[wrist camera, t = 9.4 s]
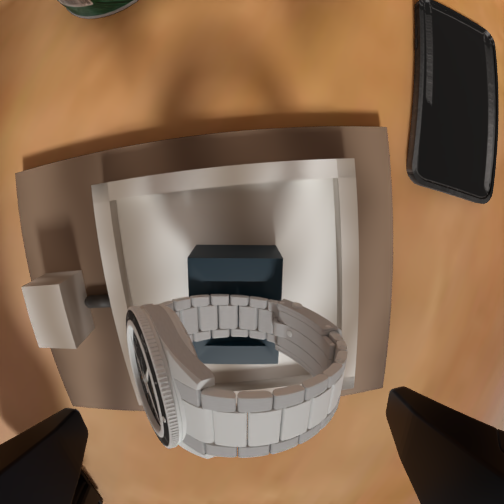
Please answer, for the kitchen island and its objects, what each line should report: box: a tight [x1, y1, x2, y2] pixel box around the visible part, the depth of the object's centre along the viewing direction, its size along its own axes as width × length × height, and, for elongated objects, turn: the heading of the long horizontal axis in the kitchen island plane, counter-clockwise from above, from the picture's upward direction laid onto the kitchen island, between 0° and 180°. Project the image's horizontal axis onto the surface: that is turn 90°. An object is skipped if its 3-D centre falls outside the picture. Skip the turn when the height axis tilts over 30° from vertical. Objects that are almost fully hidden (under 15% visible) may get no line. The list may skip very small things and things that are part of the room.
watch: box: [126, 245, 348, 459], centre depth 13 cm, size 6×8×11 cm
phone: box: [407, 0, 498, 204], centre depth 18 cm, size 8×1×15 cm
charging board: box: [15, 126, 393, 411], centre depth 18 cm, size 24×18×4 cm
